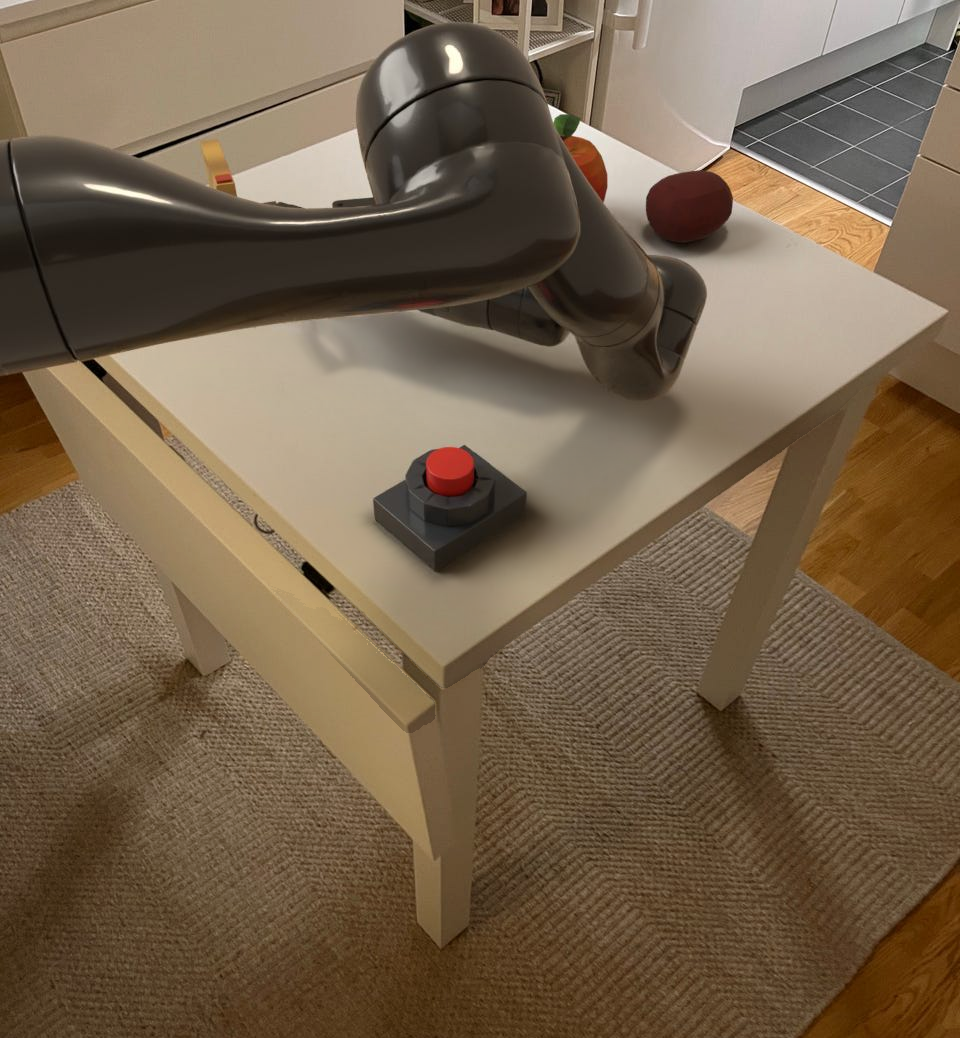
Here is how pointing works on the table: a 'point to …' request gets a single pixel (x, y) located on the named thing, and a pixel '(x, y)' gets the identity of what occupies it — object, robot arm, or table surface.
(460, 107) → the robot arm
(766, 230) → the table surface
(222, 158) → the wooden block
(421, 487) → the button block
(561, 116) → the fruit
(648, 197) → the potato
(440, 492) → the button
